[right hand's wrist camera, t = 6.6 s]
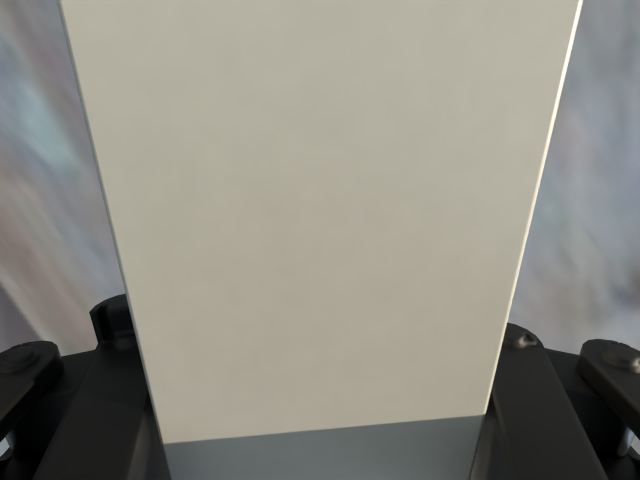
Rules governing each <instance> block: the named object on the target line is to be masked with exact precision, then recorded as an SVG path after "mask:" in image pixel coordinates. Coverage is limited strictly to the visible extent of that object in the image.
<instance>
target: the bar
mask: <svg viewBox="0 0 640 480" xmlns="http://www.w3.org/2000/svg"><path fill="white" fill-rule="evenodd" d="M582 2H583V0H57V4H58V9H59V13H60V17H61V21H62V26H63V30H64V34H65V38H66V42H67V47H68V51H69V55H70V59H71V64H72V68H73V72H74V76H75V81H76V85H77V89H78V93H79V98H80V102H81V106H82V110H83V115H84V119H85V123H86V127H87V132H88V136H89V140H90V144H91V149H92V153H93V157H94V161H95V165H96V170H97V174H98V178H99V182H100V187H101V191H102V195H103V199H104V204H105V208H106V212H107V216H108V221H109V225H110V229H111V233H112V238H113V242H114V246H115V250H116V255H117V259H118V263H119V267H120V272H121V276H122V280H123V284H124V288H125V293H126V297H127V301H128V305H129V310H130V314H131V318H132V322H133V327H134V331H135V335H136V339H137V344H138V348H139V352H140V356H141V361H142V365H143V369H144V373H145V378H146V382H147V386H148V390H149V395H150V399H151V403H152V407H153V411H154V416H155V420H156V424H157V428H158V433H159V437H160V441H161V445H162V450H163V454H164V458H165V462H166V467H167V471H168V475H169V479H170V480H470V478H471V474H472V469H473V465H474V461H475V457H476V452H477V448H478V444H479V440H480V435H481V431H482V427H483V423H484V418H485V414H486V410H487V406H488V401H489V397H490V393H491V389H492V384H493V380H494V376H495V372H496V367H497V363H498V359H499V355H500V350H501V346H502V342H503V338H504V333H505V329H506V325H507V321H508V316H509V312H510V308H511V304H512V299H513V295H514V291H515V287H516V282H517V278H518V274H519V270H520V265H521V261H522V257H523V253H524V248H525V244H526V240H527V236H528V232H529V227H530V223H531V219H532V215H533V210H534V206H535V202H536V198H537V193H538V189H539V185H540V181H541V176H542V172H543V168H544V164H545V159H546V155H547V151H548V147H549V142H550V138H551V134H552V130H553V125H554V121H555V117H556V113H557V108H558V104H559V100H560V96H561V91H562V87H563V83H564V79H565V74H566V70H567V66H568V62H569V57H570V53H571V49H572V45H573V40H574V36H575V32H576V28H577V23H578V19H579V15H580V11H581V6H582Z"/></svg>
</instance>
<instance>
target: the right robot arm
mask: <svg viewBox="0 0 640 480" xmlns="http://www.w3.org/2000/svg"><path fill="white" fill-rule="evenodd" d="M89 313H90V316H91V320H92V323H93V327H94V330H95V334H96V337H97V341H98V345H97V347H96V349H95V350H92V351H87V352H82V353H77V354H72V355H67V356H62V357H61V355H60V352H59V349H58V346H57V345H56V344H54V343H53V342H50V341H35V342H27V343H23V344H22V345H21V344H19V345H16V346H13V347H11V348H10V349H8V350H6V351H4V352H1V353H0V442H1V441H2V440H3V439H4V438H5V437H6V440H7V442H8V444H9V446H10V447H9V448H8V450H7V451H6V452H5V453H4V454H3V455H2V456H1V457H0V480H170V479H169V475H168V471H167V467H166V462H165V458H164V454H163V450H162V445H161V441H160V437H159V433H158V428H157V424H156V420H155V416H154V411H153V407H152V403H151V399H150V395H149V390H148V386H147V382H146V378H145V373H144V369H143V365H142V361H141V356H140V352H139V348H138V344H137V339H136V335H135V331H134V327H133V322H132V318H131V314H130V310H129V305H128V301H127V297H126V294H122V295H117V296H115V297H112V298H109V299H106V300H104V301H103V302H101V303H99V304H98V305H96V306H95V307H94V308H93V309H92V310H91V311H90V312H89ZM635 435H636V436H637V437H638V439H639V440H640V351H638V350H636V349H634V348H632V347H630V346H628V345H626V344H623V343H618V342H616V341H612V340H602V339H594V340H588V341H587V342H585V343H584V344H583V345H582V348H581V351H580V354H579V355H576V354H571V353H566V352H561V351H555V350H551V349H547V348H544V346H543V344H542V343H541V341H540V340H539V339H538V338H537V336H536V335H534V334H533V333H531V332H530V331H528V330H527V329H525V328H522V327H520V326H518V325H515V324H511V323H507V325H506V329H505V333H504V338H503V342H502V346H501V350H500V355H499V359H498V363H497V367H496V372H495V376H494V380H493V384H492V389H491V393H490V397H489V401H488V406H487V410H486V414H485V418H484V423H483V427H482V431H481V435H480V440H479V444H478V448H477V452H476V457H475V461H474V465H473V469H472V474H471V478H470V480H640V455H639V454H638V453H637V452H636V451H635V450H634V449H633V448H632V446H631V443H632V441H633V439H634V437H635Z"/></svg>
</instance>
